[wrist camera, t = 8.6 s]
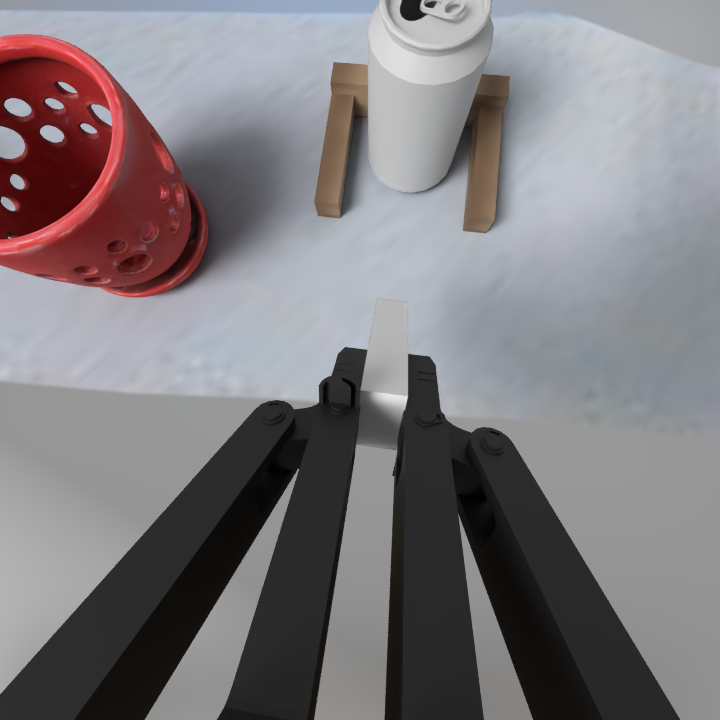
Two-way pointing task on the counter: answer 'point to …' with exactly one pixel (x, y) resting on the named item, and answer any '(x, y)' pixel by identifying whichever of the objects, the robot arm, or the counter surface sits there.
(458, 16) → the can
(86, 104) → the plant pot
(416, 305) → the counter surface
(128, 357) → the counter surface
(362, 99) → the walnut frame
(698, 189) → the counter surface
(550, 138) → the counter surface
